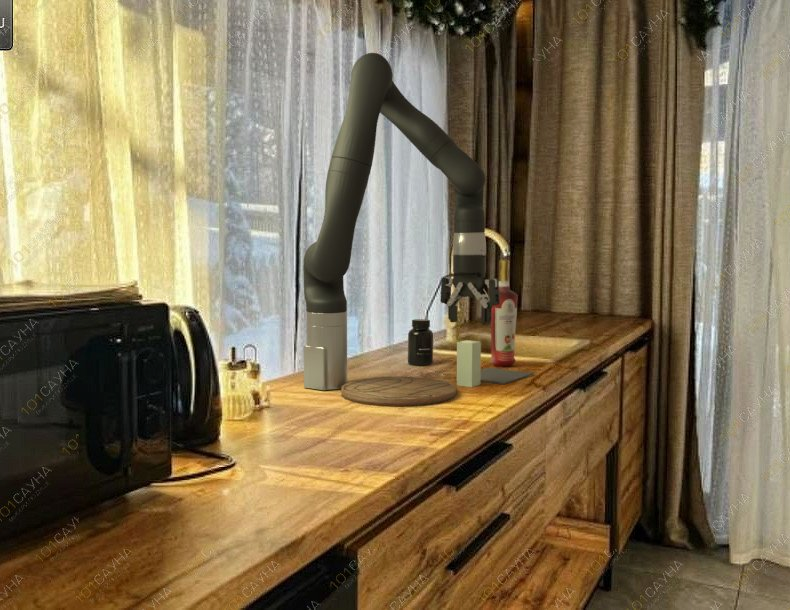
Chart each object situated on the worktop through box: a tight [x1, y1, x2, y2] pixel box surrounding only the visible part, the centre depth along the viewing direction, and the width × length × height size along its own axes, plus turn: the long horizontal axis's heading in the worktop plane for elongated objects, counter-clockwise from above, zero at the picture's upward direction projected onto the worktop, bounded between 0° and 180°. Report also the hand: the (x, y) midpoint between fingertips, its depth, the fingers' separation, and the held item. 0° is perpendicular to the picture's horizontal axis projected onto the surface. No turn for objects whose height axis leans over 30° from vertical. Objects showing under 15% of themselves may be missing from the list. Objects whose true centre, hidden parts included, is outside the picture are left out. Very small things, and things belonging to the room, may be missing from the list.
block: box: [456, 339, 482, 388], centre depth 174 cm, size 4×4×10 cm
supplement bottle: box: [407, 318, 434, 367], centre depth 203 cm, size 7×7×12 cm
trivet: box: [340, 375, 457, 408], centre depth 164 cm, size 25×25×2 cm
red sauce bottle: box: [489, 259, 519, 368], centre depth 200 cm, size 7×7×28 cm
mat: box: [455, 367, 535, 385], centre depth 185 cm, size 16×13×1 cm
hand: (469, 323), depth 174 cm, fingers open, 8 cm apart
